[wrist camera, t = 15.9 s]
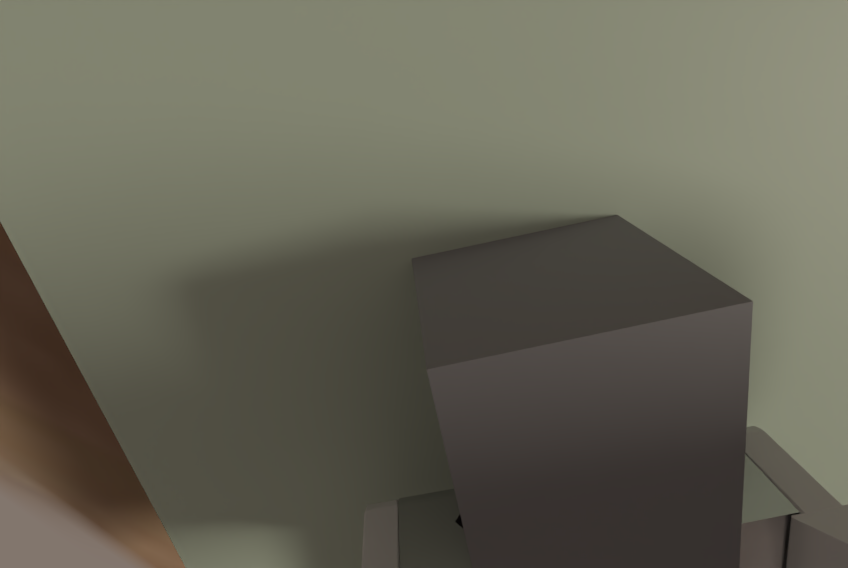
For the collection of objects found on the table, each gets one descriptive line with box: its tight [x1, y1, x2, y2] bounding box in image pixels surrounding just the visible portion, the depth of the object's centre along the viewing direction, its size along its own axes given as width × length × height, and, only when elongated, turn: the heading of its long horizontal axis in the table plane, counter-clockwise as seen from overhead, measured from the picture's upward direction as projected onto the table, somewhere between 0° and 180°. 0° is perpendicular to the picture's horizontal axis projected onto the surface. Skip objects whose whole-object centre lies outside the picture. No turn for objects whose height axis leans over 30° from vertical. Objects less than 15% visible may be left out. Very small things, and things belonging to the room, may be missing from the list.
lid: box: [0, 0, 848, 568], centre depth 9 cm, size 16×13×5 cm
